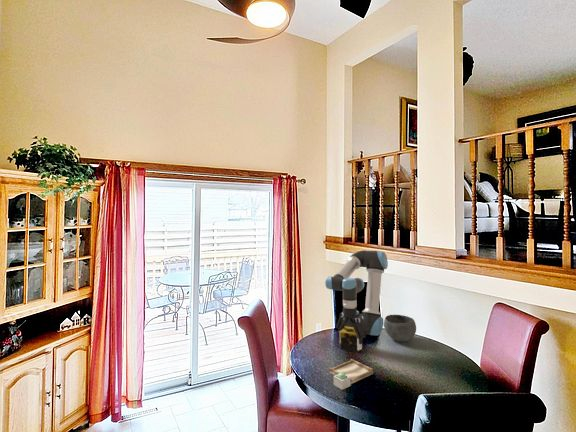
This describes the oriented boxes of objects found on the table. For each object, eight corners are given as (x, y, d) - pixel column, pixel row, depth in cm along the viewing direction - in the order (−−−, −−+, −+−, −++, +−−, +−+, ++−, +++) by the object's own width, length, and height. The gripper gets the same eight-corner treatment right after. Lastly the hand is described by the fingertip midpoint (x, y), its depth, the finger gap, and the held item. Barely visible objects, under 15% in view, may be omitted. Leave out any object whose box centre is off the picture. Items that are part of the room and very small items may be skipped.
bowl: (389, 332, 235) (389, 312, 235) (419, 338, 223) (419, 316, 222) (379, 341, 218) (379, 320, 218) (411, 349, 206) (411, 325, 205)
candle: (362, 345, 180) (362, 328, 179) (358, 353, 170) (358, 334, 170) (345, 343, 184) (344, 325, 184) (340, 349, 175) (339, 331, 175)
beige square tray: (329, 372, 178) (329, 367, 178) (351, 363, 188) (351, 358, 188) (350, 384, 165) (350, 379, 165) (373, 373, 175) (373, 369, 175)
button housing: (333, 384, 165) (333, 376, 165) (342, 381, 168) (341, 372, 168) (342, 389, 160) (341, 380, 160) (350, 385, 163) (350, 377, 163)
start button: (336, 381, 164) (336, 374, 164) (341, 379, 166) (341, 371, 166) (341, 384, 161) (341, 376, 161) (347, 382, 164) (346, 374, 164)
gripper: (329, 303, 184) (330, 340, 184) (362, 313, 164) (363, 355, 164) (338, 300, 188) (339, 337, 189) (372, 310, 168) (372, 351, 169)
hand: (350, 345), depth 176 cm, fingers closed on candle, 12 cm apart
